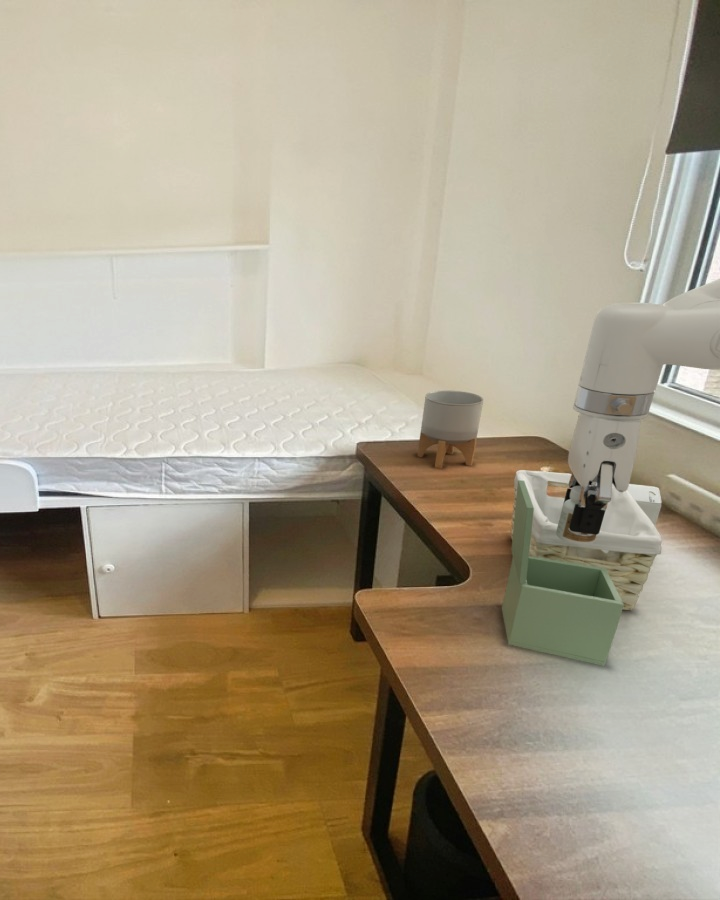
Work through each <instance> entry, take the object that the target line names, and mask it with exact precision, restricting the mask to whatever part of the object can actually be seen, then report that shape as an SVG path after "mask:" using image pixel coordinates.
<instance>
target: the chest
mask: <svg viewBox="0 0 720 900" xmlns="http://www.w3.org/2000/svg"><path fill="white" fill-rule="evenodd" d="M623 607H624V604H623V602H622V600H621V598H620V596H619V594H618V592H617V590H616V588H615V586H614V584H613V582H612V580H611V578H610V576H609V574H608V571H607V569H606V568H601V567H595V566H589V565H583V564H577V563H570V562H564V561H558V560H552V559H546V558H539V557H533V556H529V559H528V568H527V578H526V584H523V583H519V580H518V575H517V571H516V567H515V563H514V559H513V558H512V559H511V563H510V569H509V573H508V577H507V583H506V587H505V592H504V596H503V601H502V605H501V612H502V617H503V622H504V627H505V634H506V639H507V644H508V645H509V646H513V647H519V648H522V649H528V650H532V651H536V652H541V653H545V654H550V655H554V656H558V657H563V658H568V659H572V660H577V661H582V662H586V663H589V664H595V665H599V666H603V667H604V666H606V664H607V660H608V657H609V654H610V650H611V647H612V644H613V641H614V638H615V634H616V631H617V628H618V626H619V622H620V620H621V616H622V613H623V610H624V609H623Z"/></svg>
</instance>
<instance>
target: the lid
mask: <svg viewBox="0 0 720 900" xmlns="http://www.w3.org/2000/svg"><path fill="white" fill-rule="evenodd" d="M533 512H534V507H533V504H532V501H531V499H530V496H529V493H528V490H527V487H526V484H525V482H524V481H521V480H518V486H517V497H516V507H515V518H514V529H513V539H512V538H511V540H512V541H511V554H512V560H513V559H514V563H515V567H516V571H517V575H518V580H519V583H523V584H526V578H527V568H528V559H529V550H530V540H531V531H532V521H533Z"/></svg>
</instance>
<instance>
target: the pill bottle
mask: <svg viewBox="0 0 720 900" xmlns="http://www.w3.org/2000/svg"><path fill="white" fill-rule="evenodd" d="M581 487H582V486H574V487H572V488H570V489H571V492H570V499H569V500H567V501H565V502H564V504H563V507H562V511H561V515H560V519H559V523H558V527H557V531H556V535H557V536H558V537H559V538H560V539H561V540H563V541H565V542H567V543H570V544H574V545H582V546H586V545H591V544H593V543H594V541H595V538H596V535H594V534H587V533H580V532H573V531H571V530H570V528H569V526H570V522H571V518H572V514H573V511H574V507H575V504H579V498H580V493H581ZM595 493H596V491H591V490H589V491H588V496H589V495H590V494H595ZM588 496H587V497H588Z"/></svg>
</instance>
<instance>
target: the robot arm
mask: <svg viewBox="0 0 720 900" xmlns="http://www.w3.org/2000/svg"><path fill="white" fill-rule="evenodd" d="M663 365H664V366H665V365H669V366H679V367H687V368H693V369H703V370H713V371H714V370H715V371H716V370H719V371H720V278H718V279H716V280H713V281H711V282H708V283H705V284H703V285H700V286H698V287H696V288H693V289H690V290H688V291H685V292H683V293H680V294H678V295H676V296H674V297H672V298H670V299H669V300H667V301H666V302H664V303H662V304H661V303H653V302H619V303H611V304H608V305H605V306H602V307H601V308H600V309H598V311H597V312H596V315H595V317H594V319H593V324H592V328H591V331H590V337H589V340H588V345H587V349H586V352H585V356H584V360H583V365H582V369H581V373H580V377H579V381H578V386H577V389H576V392H575V398H574V402H573V405H572V408H573V410H574V411H576V412H578V413H579V414H578V416H577V417H578V418H577V420H576V424H575V427H574V431H573V433H572V438H571V442H570V447H569V450H568V455H567V456H568V457H567V465H568V467H569V470H570V471H571V474H572V475H571V478H570V481H569V488H568V487H566V492H565V496H564V498H565V500H564V502H565V501H567V500H569V499H570V492H571V489H572V487H574V486H582V487H581V493H580V498H579V504H575V507H574V511H573V514H572V518H571V522H570V526H569V528H570V530H571V531H573V532H580V533H587V534H594V535H597V534H599V532H600V528H601V525H602V521H603V518H604V514H605V510H606V508H607V504H608V502H610V501H611V497H612V484H613V485H614V486H615V488H616V489H617V490H618V491H619V492H625V491H626V490H627V489H628V486H629V484H630V482H631V478H632V473H633V469H634V465H635V461H636V456H637V451H638V447H639V446H638V445H639V440H640V432H641V424H642V423H641V422H642V421H641V420H644V419H646V418H648V416H649V412H650V409H651V406H652V402H653V399H654V396H655V392H656V389H657V385H658V383H659V379H660V376H661V372H662V368H663ZM596 483H597V485H596ZM589 490H591V491H596V493H595V494H590V495H589V496H588V491H589ZM587 496H588V497H587Z"/></svg>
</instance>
